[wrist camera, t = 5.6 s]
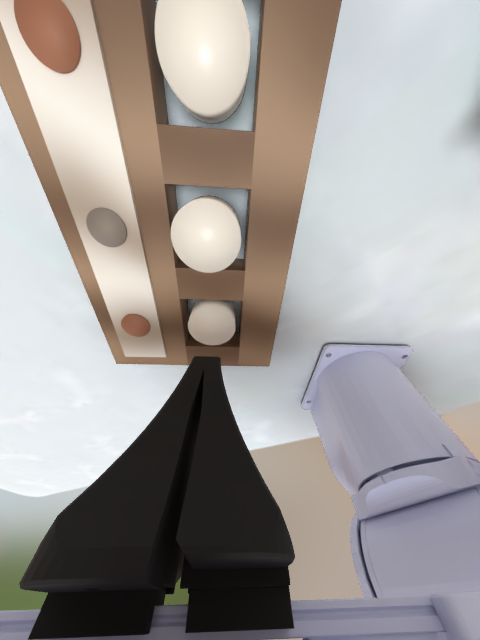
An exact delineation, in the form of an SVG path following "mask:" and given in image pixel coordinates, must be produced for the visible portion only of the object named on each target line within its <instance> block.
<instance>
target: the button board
mask: <svg viewBox="0 0 480 640" xmlns="http://www.w3.org/2000/svg"><path fill="white" fill-rule="evenodd" d="M341 2H342V0H261V8H260V23H259V38H258V53H257V68H256V83H255V98H254V113H253V128H252V132H251V131H239V130H226V129H214V128H201V127H188V126H176V125H168V117H167V108H166V99H165V89H164V80H163V71H162V68H161V65H160V62H159V58H158V54H157V49H156V43H155V14H156V5H155V0H0V86H1V89H2V91H3V93H4V96H5V98H6V101H7V103H8V105H9V108H10V110H11V112H12V115H13V117H14V120H15V122H16V124H17V127H18V129H19V132H20V134H21V136H22V139H23V141H24V144H25V146H26V148H27V151H28V153H29V156H30V158H31V160H32V163H33V165H34V167H35V170H36V172H37V175H38V177H39V179H40V182H41V184H42V187H43V189H44V191H45V194H46V196H47V199H48V201H49V203H50V206H51V208H52V211H53V213H54V215H55V218H56V220H57V222H58V225H59V227H60V230H61V232H62V234H63V237H64V239H65V242H66V244H67V246H68V249H69V251H70V254H71V256H72V258H73V261H74V263H75V266H76V268H77V270H78V273H79V275H80V277H81V280H82V282H83V285H84V287H85V289H86V292H87V294H88V297H89V299H90V301H91V304H92V306H93V309H94V311H95V313H96V316H97V318H98V321H99V323H100V325H101V328H102V330H103V332H104V335H105V337H106V340H107V342H108V344H109V347H110V349H111V352H112V354H113V356H114V359H115V361H116V364H163V365H190V363H191V361H192V359H193V357H195V356H209V357H220V358H221V366H269V364H270V359H271V354H272V349H273V344H274V339H275V334H276V329H277V324H278V319H279V314H280V309H281V304H282V299H283V294H284V289H285V284H286V279H287V274H288V269H289V264H290V259H291V254H292V248H293V243H294V238H295V233H296V228H297V223H298V218H299V213H300V208H301V203H302V198H303V193H304V188H305V183H306V178H307V173H308V168H309V163H310V158H311V153H312V148H313V143H314V138H315V133H316V128H317V123H318V118H319V113H320V107H321V102H322V97H323V92H324V87H325V82H326V77H327V72H328V67H329V62H330V57H331V52H332V47H333V42H334V37H335V32H336V27H337V22H338V17H339V12H340V7H341ZM175 184H177V185H193V186H209V187H224V188H240V189H248V203H247V218H246V233H245V249H244V259H235V260H234V262H233V263H232V264H231V265H230V266H228V267H227V268H225V269H224V270H221V271H218V272H214V273H204V272H199V271H197V270H194V269H192V268H190V267H189V266H187V265H186V264H185V263H184V262H183V261H182V260H181V259H180V258H179V257H178V255H177V253H176V252H175V250H174V247H173V244H172V240H171V226H172V222H173V219H174V217H175V215H176V214H177V212H178V211H177V202H176V192H175ZM187 299H204V300H233V301H241V309H240V324H239V331H235V333H234V335H233V336H232V338H231V339H230V340H228V341H227V342H225V343H223V344H220V345H206V344H203V343H200V342H198V341H197V340H195V339H194V338H193V337H192V336H191V334H190V332H189V330H188V321H189V314H188V305H187Z"/></svg>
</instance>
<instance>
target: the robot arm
mask: <svg viewBox="0 0 480 640" xmlns="http://www.w3.org/2000/svg"><path fill="white" fill-rule="evenodd" d="M412 352H413V349H412V348H411V347H410V346H389V345H346V344H328V345H326V346H325V347H324V348H323V350H322V353H321V355H320V358H319V361H318V363H317V366H316V368H315V371H314V373H313V376H312V378H311V381H310V384H309V386H308V389H307V391H306V394H305V396H304V399H303V402H302V404H301V406H302V408H303V409H305V410H311V412H312V415H313V418H314V421H315V424H316V427H317V430H318V433H319V436H320V439H321V442H322V445H323V448H324V450H325V454H326V457H327V460H328V463H329V465H330V468H331V470H332V472H333V474H334V475H335V477H336V478H337V480H338V481H339V482H340V484H341V485H342V486H343V487H344V488H345V489H346V490H347V491H348V492H349V493H351V494H352V495H353V496H351V499H352V502H353V505H354V507H355V510H356V514H355V515H354V517H353V519H352V522H351V529H350V542H351V550H352V556H353V561H354V566H355V570H356V574H357V577H358V581H359V584H360V587H361V589H362V592H363V595H364V597H365V598H357V599H330V600H300V601H291V600H290V592H289V585H290V578H289V570H288V566H289V565H290V564H291V563H292V562H293V560H294V558H295V555H294V550H293V545H292V542H291V538H290V535H289V532H288V529H287V526H286V524H285V521H284V518H283V516H282V513H281V511H280V508H279V506H278V505H277V503H276V501H275V499H274V498H273V496H272V494H271V493H270V491H269V489H268V487H267V486H266V484H265V482H264V480H263V478H262V476H261V474H260V472H259V471H258V469H257V467H256V465H255V463H254V461H253V459H252V457H251V455H250V452H249V450H248V448H247V446H246V444H245V442H244V440H243V437H242V435H241V433H240V431H239V428H238V426H237V423H236V421H235V418H234V415H233V413H232V410H231V407H230V404H229V401H228V397H227V394H226V390H225V386H224V382H223V378H222V372H221V358H220V357H209V356H195V357H193V359H192V361H191V363H190V365H189V367H188V369H187V371H186V372H185V374H184V376H183V377H182V379H181V381H180V382H179V384H178V385H177V387H176V388H175V390H174V392H173V393H172V395H171V396H170V397H169V399H168V400H167V401H166V403H165V404H164V406H163V407H162V408H161V410H160V411H159V412H158V414H157V415H156V416H155V417H154V419H153V420H152V421H151V422H150V424H149V425H148V426H147V427H146V428H145V430H144V431H143V432H142V433H141V434H140V435H139V436H138V438H137V439H136V440H135V441H134V442H133V443H132V444H131V445H130V446H129V448H128V449H127V450H126V451H125V452H124V453H123V454H122V455H121V456H120V457H119V458H118V459H117V460H116V461H115V462H114V463H113V464H112V465H111V466H110V467H109V468H108V469H107V470H106V471H105V472H104V473H103V474H102V475H101V476H100V477H99V478H98V479H97V480H96V481H95V482H94V483H93V484H92V485H90V486H89V487H88V488H87V489H86V490H85V491H84V492H83V493H82V494H81V495H80V496H78V497H77V498H76V499H75V500H74V501H73V502H72V503H71V504H70V505H69V506H67V507H66V508H65V509H64V510H63V511H62V512H61V513H60V514H59V515H58V516H57V518H56V519H55V521H54V523H53V524H52V526H51V527H50V529H49V531H48V532H47V534H46V535H45V537H44V539H43V540H42V542H41V544H40V546H39V547H38V550H37V552H36V553H35V555H34V557H33V559H32V561H31V563H30V564H29V566H28V568H27V570H26V572H25V574H24V576H23V578H22V580H21V581H20V588H21V589H24V590H32V591H39V592H48V595H47V597H46V599H45V602H44V604H43V606H42V608H41V610H16V611H0V640H264V639H265V640H266V639H285V638H286V639H288V638H303V640H480V462H479V461H478V460H477V459H476V457H475V456H474V455H473V454H472V453H471V452H470V450H469V449H468V448H467V447H466V446H465V445H464V444H463V442H462V441H461V440H460V439H459V438H458V436H457V435H456V434H455V433H454V432H453V431H452V430H451V428H450V427H449V426H448V425H447V424H446V422H445V421H444V420H443V419H442V418H441V417H440V416H439V414H438V413H437V412H436V411H435V410H434V409H433V407H432V406H431V405H430V404H429V403H428V402H427V400H426V399H425V398H424V397H423V396H422V395H421V393H420V392H419V391H418V390H417V389H416V388H415V386H414V385H413V384H412V383H411V382H410V381H409V379H408V378H407V377H406V376H405V375H404V374H403V373H402V371H401V370H400V369H401V367H402V366H403V365H404V363H405V362H406V361H407V359H408V358H409V357H410V355H411V354H412ZM328 353H329V354H328ZM180 577H181V584H180V588H181V589H183V588H188V593H189V602H188V605H187V604H186V605H164V599H165V594H174V590H175V584H176V582H177V581H178V580H179V579H180Z"/></svg>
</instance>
